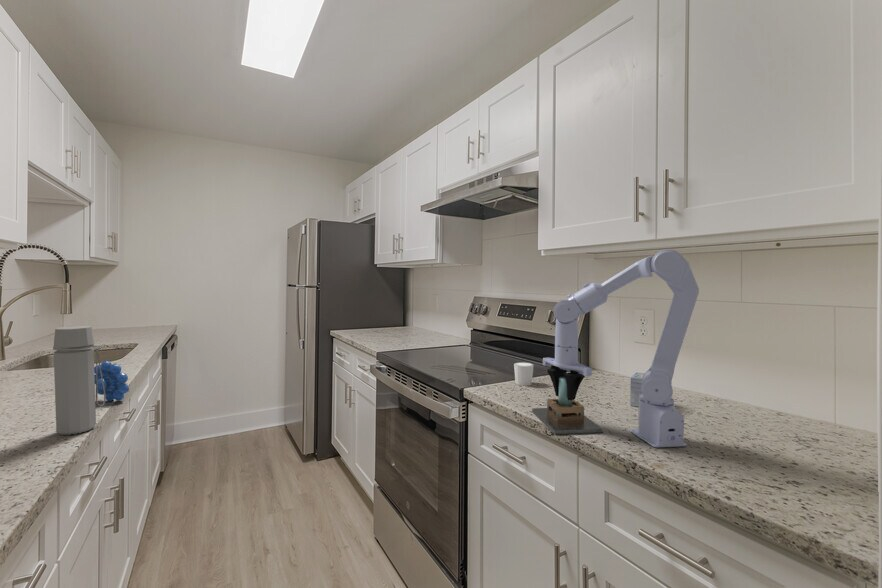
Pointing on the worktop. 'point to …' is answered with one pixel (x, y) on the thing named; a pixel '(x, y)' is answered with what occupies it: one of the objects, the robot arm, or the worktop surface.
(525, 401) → the worktop surface
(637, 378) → the medicine box
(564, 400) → the teal cylinder
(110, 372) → the grapes
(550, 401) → the wooden crate on slab
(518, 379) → the white cup
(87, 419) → the water bottle
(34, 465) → the worktop surface
